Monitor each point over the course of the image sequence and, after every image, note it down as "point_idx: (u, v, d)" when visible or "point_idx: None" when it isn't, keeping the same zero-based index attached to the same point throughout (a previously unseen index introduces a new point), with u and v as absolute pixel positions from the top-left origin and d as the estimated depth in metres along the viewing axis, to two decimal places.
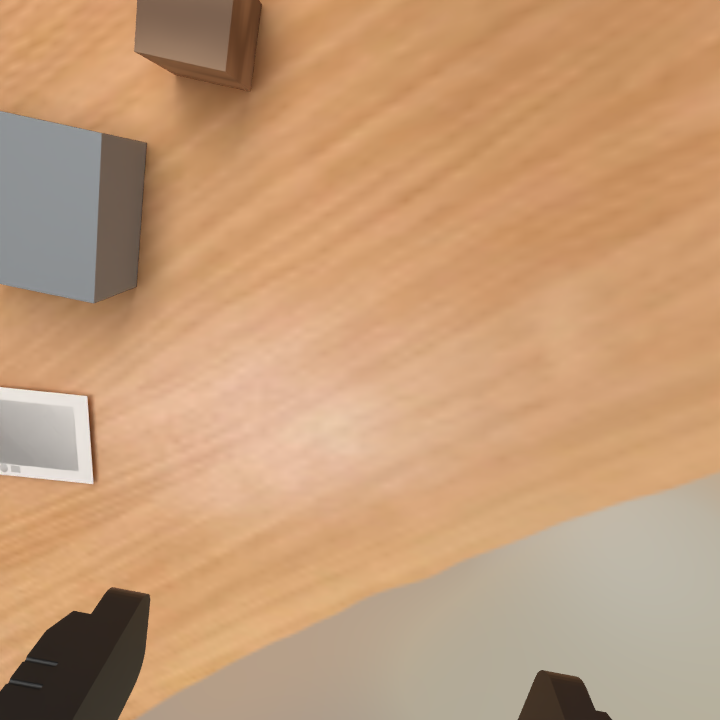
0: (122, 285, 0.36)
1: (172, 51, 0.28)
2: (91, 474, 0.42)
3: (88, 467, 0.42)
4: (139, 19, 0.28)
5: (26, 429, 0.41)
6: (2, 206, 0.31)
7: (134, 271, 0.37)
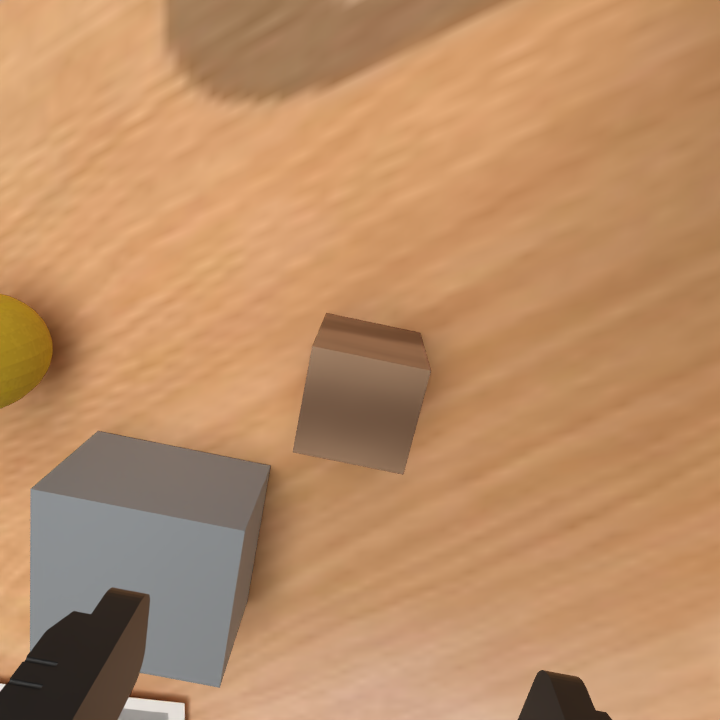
0: (239, 624, 0.31)
1: (340, 453, 0.23)
2: None
3: None
4: (302, 421, 0.22)
5: None
6: None
7: (248, 591, 0.32)
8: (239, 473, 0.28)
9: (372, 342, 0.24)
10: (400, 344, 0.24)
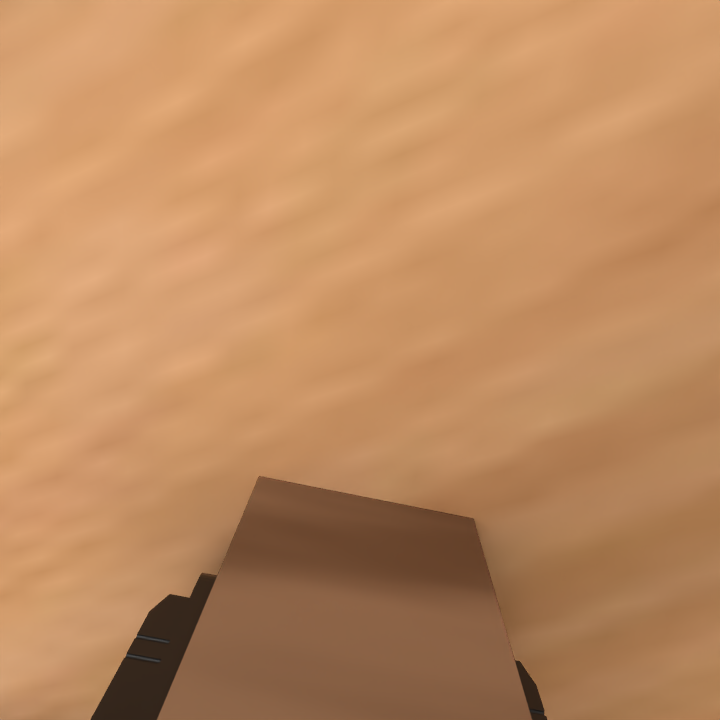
0: None
1: None
2: None
3: None
4: None
5: None
6: None
7: None
8: None
9: (362, 626, 0.08)
10: (438, 606, 0.09)
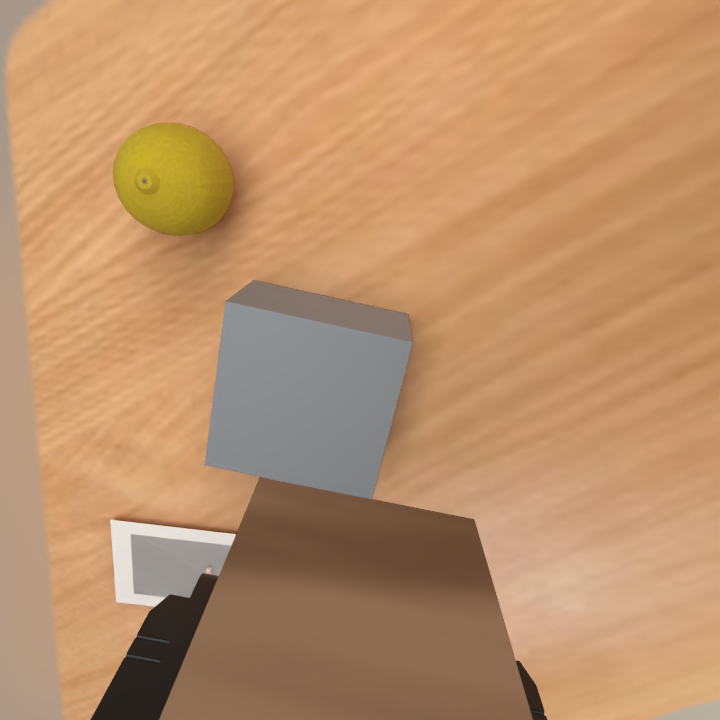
0: None
1: None
2: None
3: None
4: None
5: None
6: (290, 407, 0.29)
7: None
8: (385, 314, 0.32)
9: (364, 626, 0.08)
10: (439, 607, 0.09)
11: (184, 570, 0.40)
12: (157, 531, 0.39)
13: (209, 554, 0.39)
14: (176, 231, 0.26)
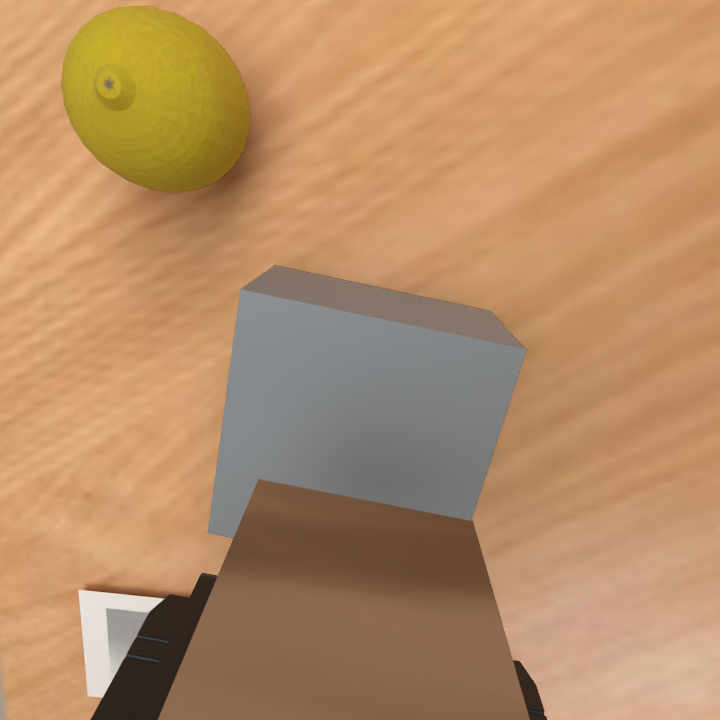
0: None
1: None
2: None
3: None
4: None
5: None
6: (336, 449, 0.19)
7: None
8: (464, 311, 0.22)
9: (361, 630, 0.08)
10: (437, 610, 0.09)
11: None
12: (141, 604, 0.29)
13: None
14: (164, 180, 0.17)
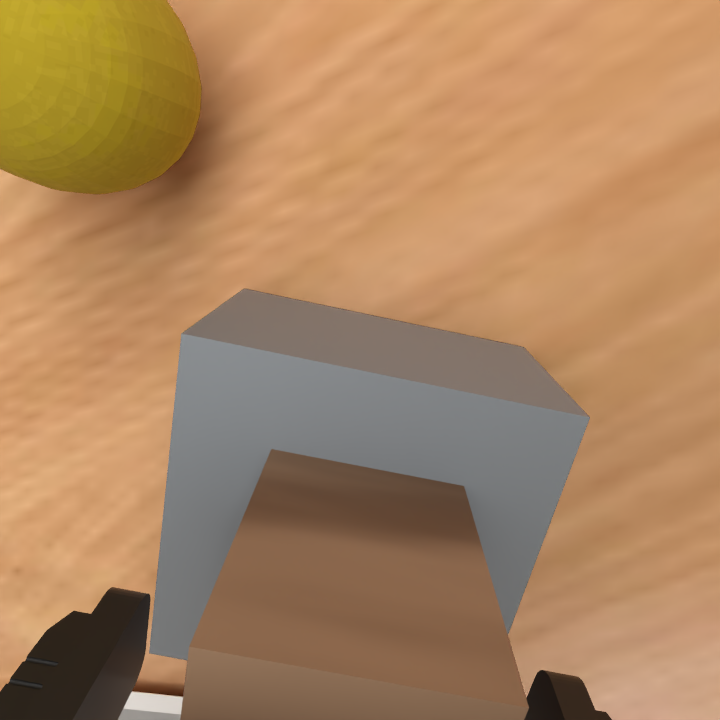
0: None
1: None
2: None
3: None
4: None
5: None
6: None
7: None
8: (492, 350, 0.17)
9: (364, 567, 0.10)
10: (431, 553, 0.10)
11: None
12: None
13: None
14: (65, 176, 0.11)
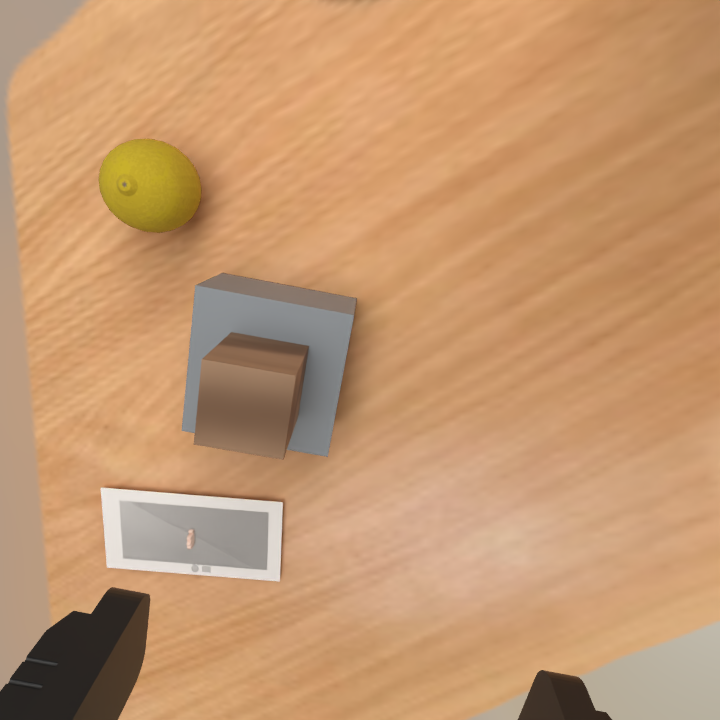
0: None
1: (231, 444, 0.29)
2: (278, 572, 0.45)
3: (276, 566, 0.44)
4: (199, 419, 0.28)
5: (220, 533, 0.44)
6: None
7: None
8: (336, 298, 0.37)
9: (258, 355, 0.29)
10: (283, 355, 0.30)
11: (168, 534, 0.44)
12: (143, 496, 0.43)
13: (191, 517, 0.43)
14: (152, 227, 0.31)
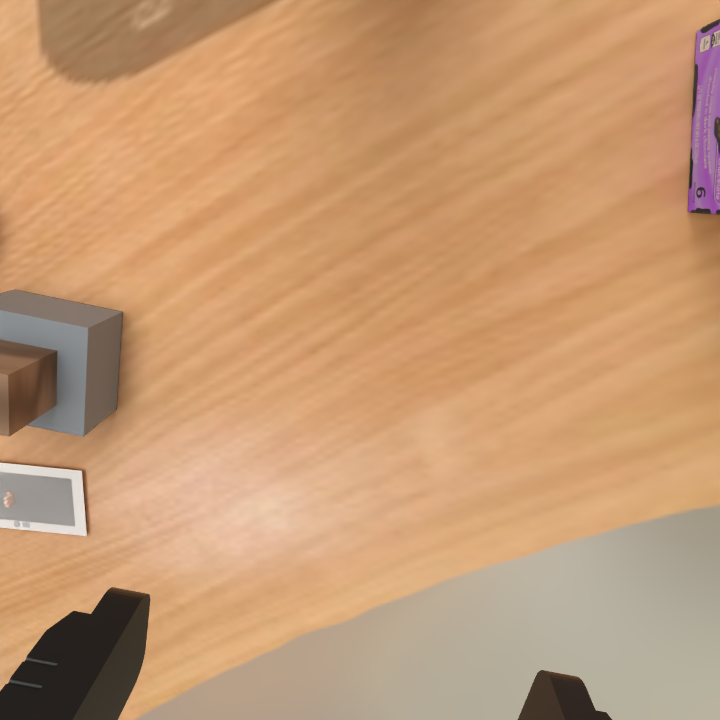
0: (105, 414, 0.49)
1: None
2: (85, 528, 0.55)
3: (82, 523, 0.55)
4: None
5: (34, 495, 0.54)
6: None
7: (114, 400, 0.50)
8: (99, 311, 0.47)
9: None
10: (20, 358, 0.40)
11: None
12: None
13: (10, 481, 0.53)
14: None
